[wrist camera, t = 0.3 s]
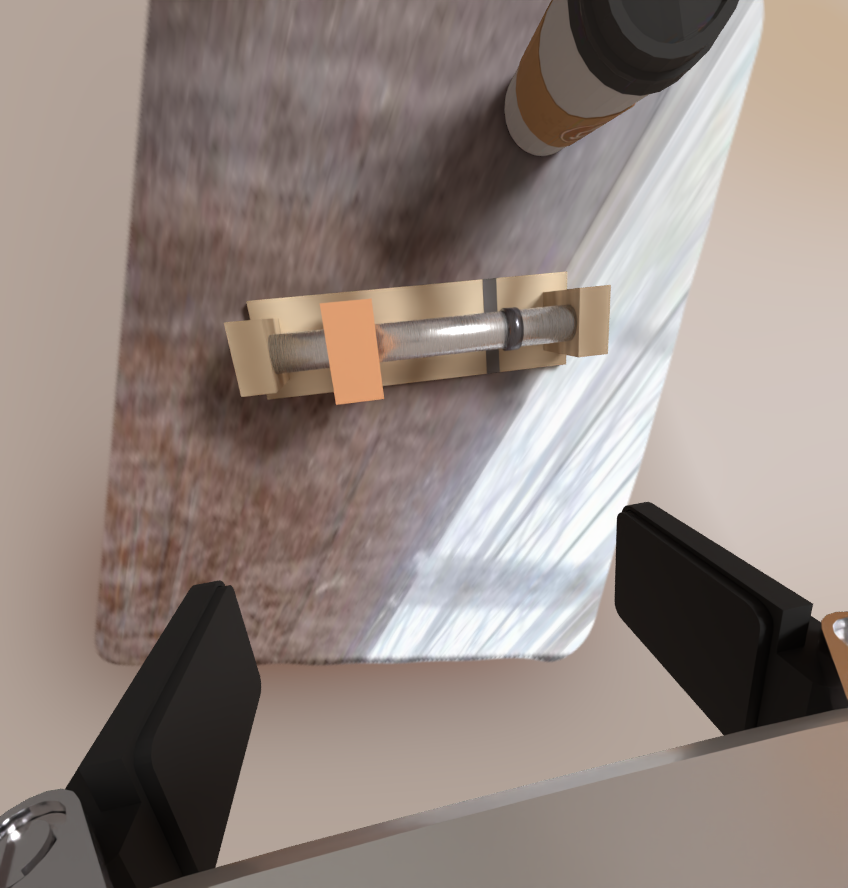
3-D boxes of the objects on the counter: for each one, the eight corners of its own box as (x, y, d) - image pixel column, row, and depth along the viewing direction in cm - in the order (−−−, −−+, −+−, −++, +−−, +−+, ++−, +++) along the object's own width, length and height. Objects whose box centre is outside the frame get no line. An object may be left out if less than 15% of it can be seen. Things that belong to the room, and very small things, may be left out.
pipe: (266, 375, 32) (256, 381, 29) (257, 332, 31) (246, 334, 28) (572, 340, 35) (592, 343, 32) (573, 300, 34) (594, 299, 31)
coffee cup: (507, 188, 34) (613, 99, 20) (475, 70, 31) (571, -130, 17) (599, 150, 34) (768, 36, 20) (575, 29, 32) (752, -201, 18)
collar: (341, 382, 34) (336, 404, 26) (329, 306, 32) (319, 303, 24) (377, 378, 35) (384, 398, 26) (367, 302, 33) (371, 298, 24)
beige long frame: (267, 398, 36) (246, 417, 29) (246, 301, 34) (218, 298, 27) (563, 363, 39) (607, 373, 33) (565, 272, 37) (611, 263, 30)
